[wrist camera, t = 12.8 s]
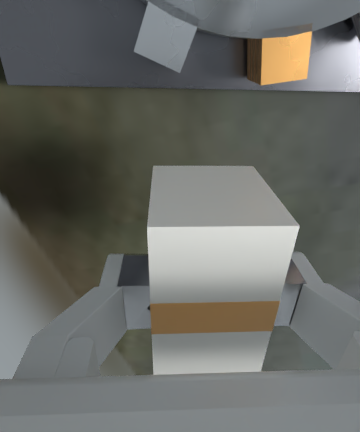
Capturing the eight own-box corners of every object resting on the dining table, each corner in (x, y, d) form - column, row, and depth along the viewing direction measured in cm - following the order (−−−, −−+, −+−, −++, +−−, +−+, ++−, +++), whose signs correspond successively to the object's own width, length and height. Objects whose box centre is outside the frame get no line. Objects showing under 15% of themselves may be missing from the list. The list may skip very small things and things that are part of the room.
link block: (233, 291, 13) (259, 379, 10) (156, 293, 13) (153, 382, 9) (253, 166, 10) (300, 225, 7) (153, 165, 10) (146, 227, 6)
